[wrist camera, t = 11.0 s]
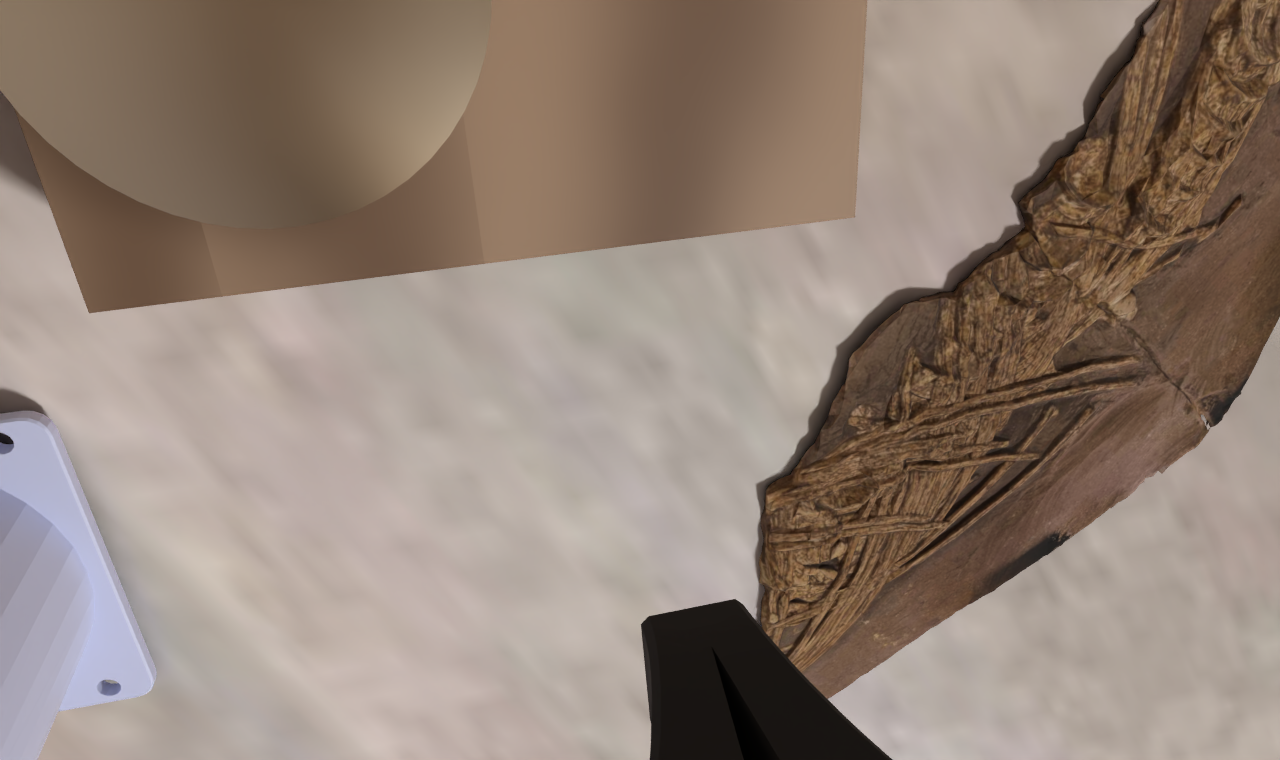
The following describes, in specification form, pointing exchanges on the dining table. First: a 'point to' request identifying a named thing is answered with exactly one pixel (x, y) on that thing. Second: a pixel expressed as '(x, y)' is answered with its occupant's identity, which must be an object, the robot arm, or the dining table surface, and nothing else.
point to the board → (541, 155)
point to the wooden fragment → (1046, 357)
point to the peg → (245, 97)
